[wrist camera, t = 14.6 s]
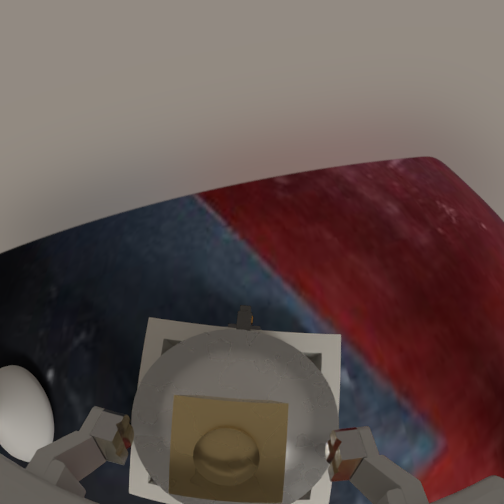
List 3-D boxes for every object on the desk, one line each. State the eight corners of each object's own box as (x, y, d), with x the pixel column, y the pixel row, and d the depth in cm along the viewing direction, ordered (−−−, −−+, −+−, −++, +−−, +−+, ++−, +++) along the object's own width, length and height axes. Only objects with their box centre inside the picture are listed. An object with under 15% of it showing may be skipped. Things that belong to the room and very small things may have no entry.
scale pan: (323, 326, 25) (342, 308, 20) (311, 495, 18) (327, 517, 13) (168, 312, 25) (151, 291, 21) (148, 479, 18) (126, 496, 13)
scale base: (322, 343, 27) (340, 329, 22) (310, 492, 20) (327, 513, 14) (168, 329, 27) (150, 312, 22) (151, 476, 20) (129, 493, 15)
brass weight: (270, 399, 17) (291, 403, 10) (267, 462, 15) (284, 509, 7) (202, 395, 17) (168, 394, 10) (198, 457, 15) (163, 498, 7)
